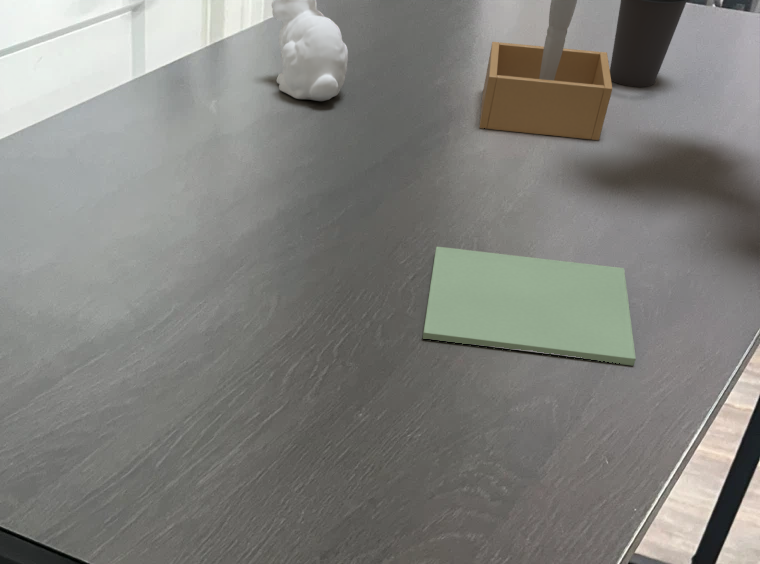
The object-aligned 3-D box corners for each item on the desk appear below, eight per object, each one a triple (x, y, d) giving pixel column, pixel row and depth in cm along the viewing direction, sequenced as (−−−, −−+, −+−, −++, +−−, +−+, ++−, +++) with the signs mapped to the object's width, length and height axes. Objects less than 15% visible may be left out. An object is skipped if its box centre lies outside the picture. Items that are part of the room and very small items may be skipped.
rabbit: (260, 76, 127) (267, -48, 118) (335, 71, 129) (347, -51, 121) (296, 112, 119) (306, -18, 111) (376, 106, 121) (392, -22, 113)
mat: (622, 274, 94) (624, 267, 94) (633, 366, 83) (635, 358, 83) (435, 253, 96) (436, 246, 95) (422, 339, 85) (423, 332, 84)
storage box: (594, 101, 125) (607, 52, 121) (598, 140, 116) (612, 88, 113) (483, 90, 126) (492, 41, 123) (479, 128, 118) (489, 76, 114)
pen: (554, 118, 121) (589, -33, 111) (531, 119, 120) (565, -33, 110) (545, 110, 122) (579, -40, 112) (522, 111, 122) (554, -39, 112)
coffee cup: (676, 78, 132) (706, -20, 124) (652, 95, 127) (681, -6, 120) (612, 64, 135) (637, -33, 128) (586, 80, 130) (610, -20, 123)
